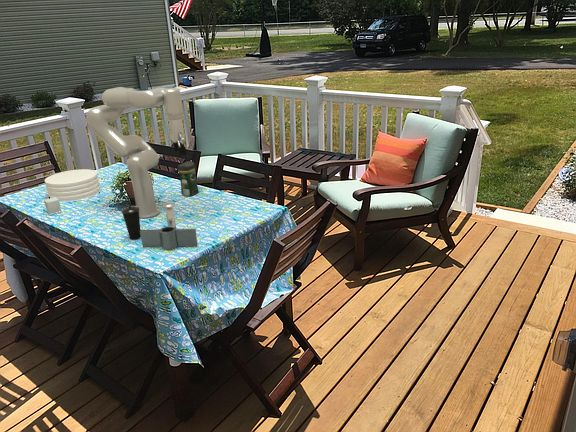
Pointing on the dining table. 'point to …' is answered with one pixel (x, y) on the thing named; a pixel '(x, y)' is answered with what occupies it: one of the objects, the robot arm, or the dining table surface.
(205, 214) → the dining table surface
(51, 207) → the product box
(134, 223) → the drinking cup
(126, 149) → the robot arm
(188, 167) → the coffee jar
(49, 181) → the plate stack
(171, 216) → the hinge pin
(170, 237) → the hinge
